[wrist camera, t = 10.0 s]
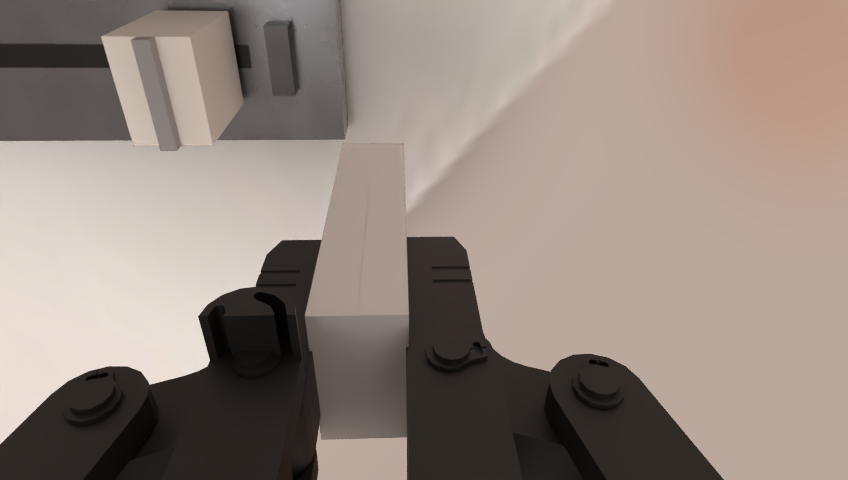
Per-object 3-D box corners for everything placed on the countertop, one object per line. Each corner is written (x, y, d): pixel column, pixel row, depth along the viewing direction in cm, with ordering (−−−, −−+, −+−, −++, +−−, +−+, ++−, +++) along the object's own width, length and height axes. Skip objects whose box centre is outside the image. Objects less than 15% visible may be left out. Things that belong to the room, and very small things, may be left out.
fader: (155, 10, 23) (94, 39, 18) (227, 10, 23) (185, 39, 18) (177, 103, 25) (128, 150, 20) (243, 103, 25) (209, 150, 20)
